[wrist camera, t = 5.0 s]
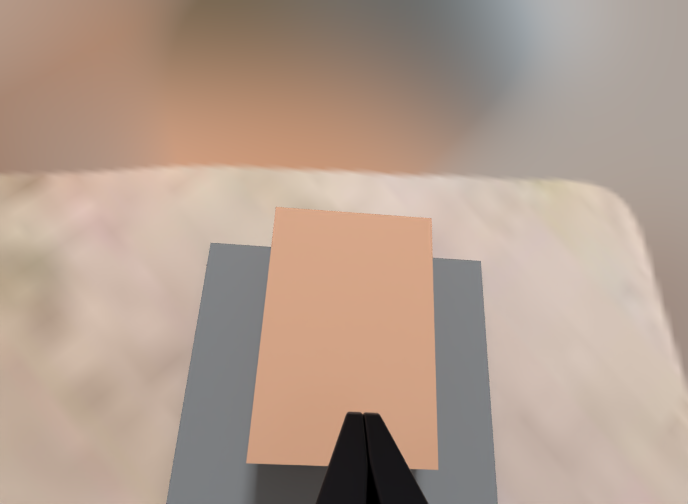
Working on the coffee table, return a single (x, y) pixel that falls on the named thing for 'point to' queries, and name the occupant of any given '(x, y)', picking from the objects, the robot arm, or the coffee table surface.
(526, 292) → the coffee table surface
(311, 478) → the mat
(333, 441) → the peach rectangular block
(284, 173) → the coffee table surface
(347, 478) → the robot arm
